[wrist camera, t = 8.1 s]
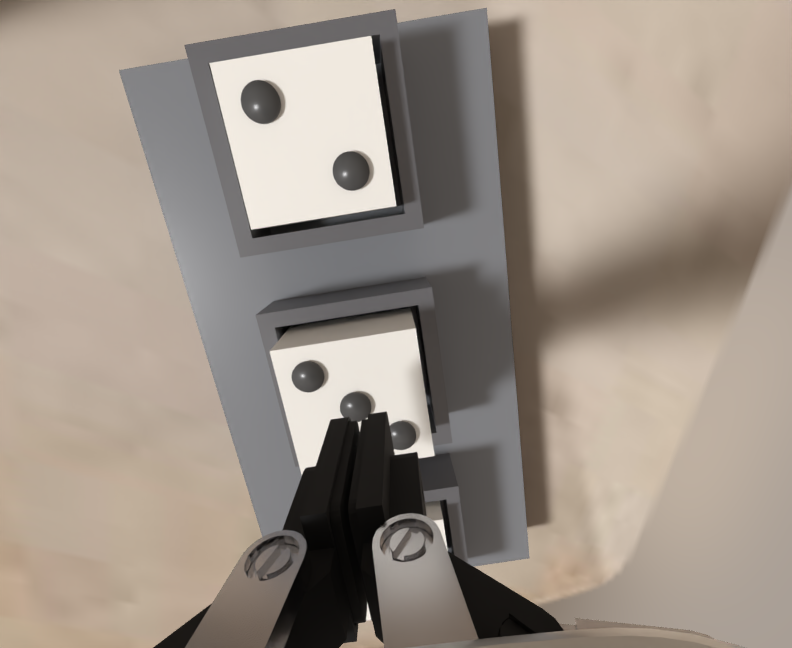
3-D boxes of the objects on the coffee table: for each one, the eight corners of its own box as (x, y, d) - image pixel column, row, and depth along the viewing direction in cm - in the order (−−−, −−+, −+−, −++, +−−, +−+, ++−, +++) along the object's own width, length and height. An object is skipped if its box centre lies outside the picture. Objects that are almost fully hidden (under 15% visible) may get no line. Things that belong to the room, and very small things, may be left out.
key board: (149, 86, 17) (67, 42, 12) (474, 32, 16) (506, -33, 12) (288, 563, 24) (267, 641, 19) (517, 529, 24) (547, 601, 19)
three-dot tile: (290, 326, 16) (268, 352, 13) (410, 307, 16) (416, 329, 13) (315, 432, 17) (301, 478, 14) (426, 415, 17) (434, 458, 14)
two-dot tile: (243, 92, 15) (207, 61, 12) (373, 70, 15) (370, 33, 12) (275, 226, 16) (249, 229, 13) (394, 207, 16) (396, 205, 13)
